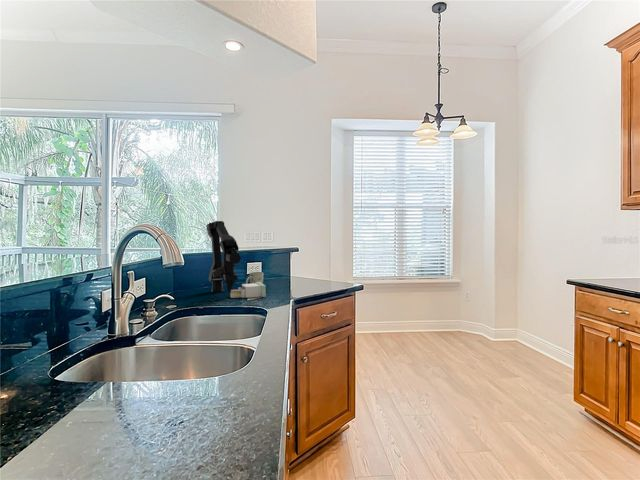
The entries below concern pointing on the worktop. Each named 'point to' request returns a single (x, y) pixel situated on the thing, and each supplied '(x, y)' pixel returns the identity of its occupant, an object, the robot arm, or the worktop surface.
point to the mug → (255, 277)
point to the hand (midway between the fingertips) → (228, 292)
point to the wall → (262, 289)
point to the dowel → (235, 293)
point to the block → (250, 290)
